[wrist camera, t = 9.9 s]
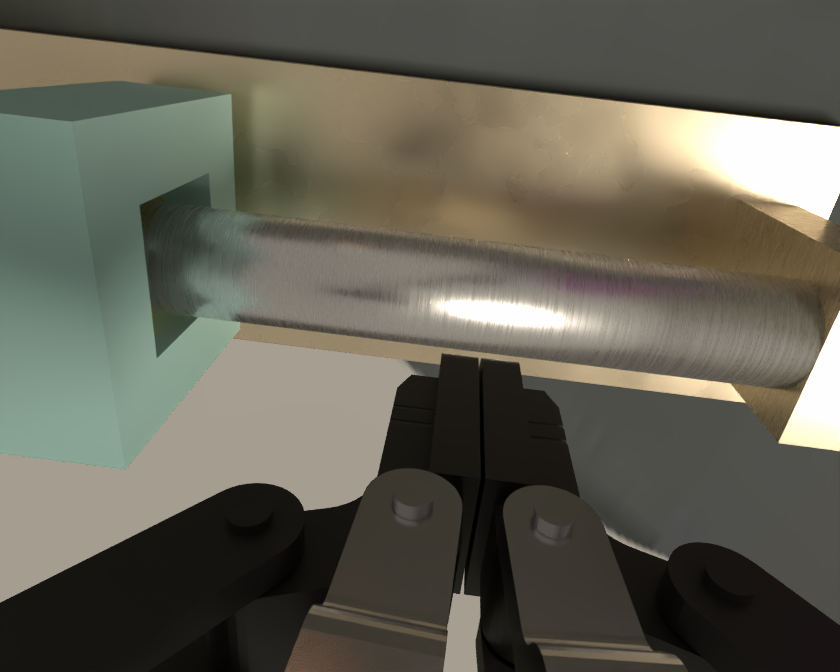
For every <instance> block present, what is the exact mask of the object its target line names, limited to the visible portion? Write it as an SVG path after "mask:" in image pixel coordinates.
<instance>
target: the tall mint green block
mask: <svg viewBox="0 0 840 672" xmlns="http://www.w3.org/2000/svg"><path fill="white" fill-rule="evenodd" d="M158 196H161V197H162V198H163V199H164V200H165V201H166V202H170V203H178V204H187V205H195V206H203V207H211V208H219V209H228V210H236V204H235V178H234V152H233V126H232V100H231V94H229V93H220V92H212V91H203V90H195V89H186V88H178V87H169V86H161V85H152V84H144V83H136V82H127V81H119V80H118V81H106V82H93V83H80V84H68V85H55V86H43V87H30V88H18V89H5V90H0V453H1V454H8V455H17V456H24V457H32V458H40V459H48V460H55V461H62V462H71V463H78V464H86V465H93V466H101V467H109V468H117V469H127V467H128V466H129V465H130V464H131V462H132V461H133V460H134V459H135V458H136V456H137V455H138V454H139V452H140V451H141V450H142V449H143V447H144V446H145V445H146V444H147V443H148V442H149V440H150V439H151V438H152V436H153V435H154V434H155V433H156V432H157V430H158V429H159V428H160V427H161V426H162V424H163V423H164V422H165V421H166V419H167V418H168V417H169V416H170V415H171V413H172V412H173V411H174V410H175V408H176V407H177V406H178V405H179V403H180V402H181V401H182V400H183V398H184V397H185V396H186V395H187V394H188V392H189V391H190V390H191V389H192V387H193V386H194V385H195V384H196V382H197V381H198V380H199V379H200V378H201V376H202V375H203V374H204V373H205V371H206V370H207V369H208V368H209V367H210V365H211V364H212V363H213V362H214V360H215V359H216V358H217V357H218V355H219V354H220V353H221V352H222V351H223V349H224V348H225V347H226V346H227V344H228V343H229V342H230V341H231V340H232V338H233V337H234V336H235V335H236V333H237V332H238V331H239V330H240V322H233V321H225V320H217V319H209V318H201V317H193V316H185V315H177V314H169V313H161V312H156V313H155V314H153V315H152V312H151V303H150V294H149V285H148V276H147V267H146V259H145V250H144V241H143V232H142V223H141V214H140V206H139V205H141V204H143V203H145V202H147V201H149V200H152V199H154V198H156V197H158Z"/></svg>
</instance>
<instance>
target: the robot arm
mask: <svg viewBox="0 0 840 672" xmlns="http://www.w3.org/2000/svg"><path fill="white" fill-rule="evenodd" d="M464 568H465V576H464V594H466V595H473V596H480V609H481V610H480V614H481V615H480V622H479V626H478V631H477V636H476V657H477V670H478V672H840V625H838V624H837V623H836V622H834V621H833V620H832V619H830V618H829V617H828V616H826V615H825V614H823V613H822V612H821V611H819V610H818V609H817V608H815V607H814V606H813V605H811V604H810V603H808V602H807V601H806V600H804V599H803V598H802V597H800V596H799V595H798V594H796V593H795V592H793V591H792V590H791V589H789V588H788V587H787V586H785V585H784V584H783V583H781V582H780V581H778V580H777V579H776V578H774V577H773V576H772V575H770V574H769V573H767V572H766V571H765V570H763V569H762V568H761V567H759V566H758V565H757V564H755V563H754V562H752V561H751V560H749V559H748V558H746V557H744V556H742V555H741V554H739V553H737V552H735V551H732V550H730V549H728V548H725V547H722V546H719V545H714V544H710V543H701V542H697V543H688V544H684V545H682V546H679V547H678V548H676V549H675V550H674V551H673V552H672V554H671V555H670V557H669V560H668V561H666V560H663V559H661V558H658V557H655V556H653V555H650V554H647V553H645V552H642V551H639V550H637V549H634V548H632V547H629V546H627V545H625V544H623V543H621V542H619V541H617V540H615V539H613V538H612V537H610V536H609V535H607V533H606V531H605V528H604V525H603V523H602V521H601V519H600V517H599V515H598V514H597V513H596V511H595V510H594V509H593V508H592V507H591V506H590V505H589V504H588V503H587V502H585V501H584V500H583V499H581V498H580V495H579V491H578V487H577V483H576V478H575V474H574V470H573V466H572V462H571V457H570V453H569V449H568V445H567V444H566V436H565V432H564V429H563V424H562V419H561V415H560V411H559V407H558V406H557V405H556V404H555V403H554V402H553V401H552V399H551V398H550V397H549V396H548V395H547V394H546V393H545V391H540V390H532V389H524V388H523V384H522V377H521V370H520V364H519V362H512V361H503V360H495V359H487V358H481V360H480V364H479V358H478V357H470V356H461V355H453V354H445V353H442V354H441V361H440V369H439V377H438V378H434V377H426V376H418V375H411V376H410V377H408V378H407V379H406V380H405V381H404V382H403V383H402V384H401V385H400V386H399V387H398V388H397V392H396V396H395V401H394V406H393V409H392V414H391V419H390V423H389V427H388V432H387V436H386V440H385V445H384V450H383V454H382V458H381V463H380V468H379V472H378V475H377V477H376V478H375V479H374V480H372V481H371V482H370V484H369V485H368V486H367V488H366V490H365V492H364V494H363V496H361V497H359V498H358V499H356V500H354V501H352V502H350V503H347V504H344V505H341V506H337V507H332V508H325V509H316V510H308V511H304V509H303V506H302V504H301V503H300V501H299V500H298V498H297V497H296V496H294V494H292V493H291V492H289V491H288V490H286V489H284V488H282V487H278V486H275V485H271V484H261V483H252V484H244V485H238V486H235V487H232V488H229V489H226V490H224V491H222V492H220V493H218V494H216V495H214V496H212V497H210V498H208V499H206V500H204V501H202V502H200V503H198V504H196V505H194V506H192V507H190V508H188V509H186V510H184V511H182V512H180V513H178V514H176V515H174V516H172V517H170V518H168V519H166V520H164V521H162V522H160V523H158V524H156V525H154V526H152V527H150V528H148V529H146V530H144V531H142V532H140V533H138V534H136V535H134V536H132V537H130V538H128V539H126V540H124V541H122V542H120V543H118V544H116V545H114V546H112V547H110V548H108V549H106V550H104V551H102V552H100V553H98V554H96V555H94V556H92V557H90V558H88V559H86V560H84V561H82V562H80V563H78V564H77V565H74V566H72V567H70V568H68V569H66V570H64V571H62V572H61V573H58V574H57V575H54V576H52V577H50V578H49V579H46V580H44V581H42V582H40V583H39V584H37V585H35V586H33V587H31V588H29V589H27V590H25V591H23V592H21V593H19V594H17V595H15V596H13V597H11V598H9V599H7V600H5V601H3V602H1V603H0V672H443V667H444V659H445V651H446V643H447V633H448V631H447V624H448V620H449V614H450V609H451V602H452V597H453V593H456V594H460V591H461V585H462V579H463V574H464Z"/></svg>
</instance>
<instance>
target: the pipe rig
mask: <svg viewBox="0 0 840 672" xmlns="http://www.w3.org/2000/svg"><path fill="white" fill-rule="evenodd" d="M118 80H119V81H127V82H136V83H144V84H152V85H161V86H169V87H178V88H186V89H195V90H203V91H212V92H220V93H229V94H231V100H232V126H233V152H234V178H235V204H236V210H228V209H219V208H211V207H203V206H195V205H187V204H178V203H170V202H166V201H165V200H164V199H163V198H162V197H161V196H158V197H156V198H154V199H152V200H149V201H147V202H145V203H143V204H141V205H139V206H140V214H141V223H142V232H143V241H144V250H145V259H146V267H147V276H148V285H149V294H150V303H151V312H152V315H153V314H155V313H156V312H161V313H169V314H177V315H185V316H193V317H201V318H209V319H217V320H225V321H233V322H240V330H239V331H238V332H237V333H236V335H235V336H234V337H233V339H241V340H249V341H257V342H265V343H273V344H281V345H289V346H297V347H305V348H313V349H321V350H329V351H337V352H345V353H353V354H361V355H369V356H377V357H385V358H393V359H401V360H409V361H417V362H425V363H433V364H440V361H441V354H442V353H445V354H453V355H461V356H470V357H478V358H479V364H480V360H481V358H487V359H495V360H503V361H512V362H519V364H520V370H521V375H529V376H537V377H545V378H553V379H561V380H569V381H577V382H585V383H593V384H601V385H609V386H617V387H625V388H633V389H641V390H649V391H657V392H665V393H673V394H681V395H689V396H697V397H705V398H713V399H721V400H729V401H737V402H745V403H746V404H747V405H748V406H749V407H750V408H751V410H752V411H753V412H754V413H755V415H756V416H757V417H758V418H759V420H760V421H761V422H762V423H763V425H764V426H765V427H766V428H767V430H768V431H769V432H770V433H771V435H772V436H773V437H774V438H775V440H776V441H777V442H778V443H782V444H790V445H798V446H806V447H814V448H822V449H830V450H838V451H840V225H839V224H837V223H835V222H832V221H830V220H828V218H829V215H830V213H831V211H832V208H833V206H834V204H835V201H836V199H837V197H838V194H839V192H840V126H836V125H827V124H819V123H810V122H801V121H793V120H784V119H776V118H767V117H759V116H750V115H742V114H733V113H725V112H716V111H708V110H699V109H690V108H682V107H673V106H665V105H656V104H648V103H639V102H631V101H622V100H614V99H605V98H596V97H588V96H579V95H571V94H562V93H554V92H545V91H537V90H528V89H520V88H511V87H502V86H494V85H485V84H477V83H468V82H460V81H451V80H443V79H434V78H426V77H417V76H409V75H400V74H391V73H383V72H374V71H366V70H357V69H349V68H340V67H332V66H323V65H315V64H306V63H297V62H289V61H280V60H272V59H263V58H255V57H246V56H238V55H229V54H221V53H212V52H203V51H195V50H186V49H178V48H169V47H161V46H152V45H144V44H135V43H127V42H118V41H110V40H101V39H92V38H84V37H75V36H67V35H58V34H50V33H41V32H33V31H24V30H16V29H7V28H0V90H5V89H18V88H30V87H43V86H55V85H68V84H80V83H93V82H106V81H118Z"/></svg>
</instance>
